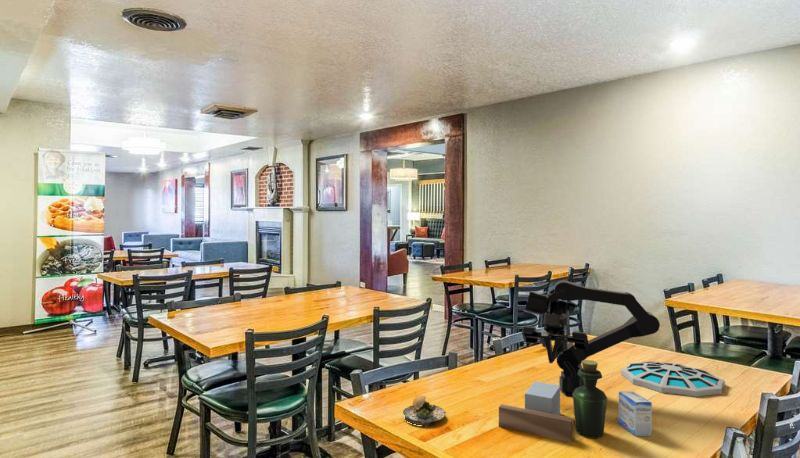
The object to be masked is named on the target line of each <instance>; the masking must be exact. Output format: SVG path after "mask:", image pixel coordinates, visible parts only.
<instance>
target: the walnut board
mask: <svg viewBox="0 0 800 458" xmlns="http://www.w3.org/2000/svg"><path fill="white" fill-rule="evenodd" d="M573 421H574V419H573V417H568V416H564V415H561V414H560V415H555V414H550V413H544V412H539V411H534V410H529V409H525V407H518V406H512V405H508V404H500V405H499V407H498V427H499V428H504V429H505V428H506V429H509V430H515V431H518V432H522V433H523V432H524V433H527V434H531V435H537V436H542V437H546V438H550V439H555V440H560V441H563V442H569V443H571V442H572V440H573V432H574V430H573Z"/></svg>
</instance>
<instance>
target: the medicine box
mask: <svg viewBox="0 0 800 458" xmlns="http://www.w3.org/2000/svg"><path fill="white" fill-rule="evenodd" d="M652 404H653V403H652V402H651V401H650V400H648V399H647V398H645V397H643V396H641V395H640V394H638V393H636V392H635V391H632V390H627V391H626V390H623V391H622V390H621V391H618V411H617V412H618V414H617V415H618V416H617V423H618V424H619V425H620V426H621V427H623V428H624V429H625V430H627V431H628V432H630V433H631V434H632V435H633V436H634V437H651V436H652V431H653V430H652V427H653V426H652V425H653V423H652V422H653V419H652V417H653V415H652V413H653V410H652V409H653V407H652V406H653V405H652Z"/></svg>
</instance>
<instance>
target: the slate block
mask: <svg viewBox="0 0 800 458" xmlns="http://www.w3.org/2000/svg"><path fill="white" fill-rule="evenodd" d="M524 409H529V410H534V411H539V412H544V413H550V414H555V415H560V416H561V390H560V386H559V384H553V383H546V382H541V381H536V380H535V381H534V382H533V383H532V384H531V385H530V386H529V388H528V389H527V390H526V391H525V392H524Z"/></svg>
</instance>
